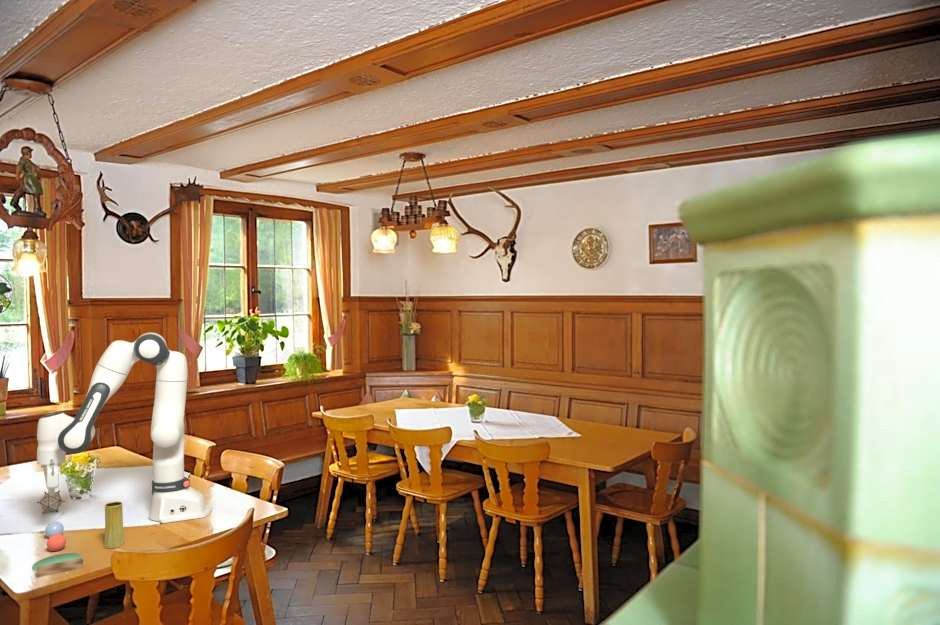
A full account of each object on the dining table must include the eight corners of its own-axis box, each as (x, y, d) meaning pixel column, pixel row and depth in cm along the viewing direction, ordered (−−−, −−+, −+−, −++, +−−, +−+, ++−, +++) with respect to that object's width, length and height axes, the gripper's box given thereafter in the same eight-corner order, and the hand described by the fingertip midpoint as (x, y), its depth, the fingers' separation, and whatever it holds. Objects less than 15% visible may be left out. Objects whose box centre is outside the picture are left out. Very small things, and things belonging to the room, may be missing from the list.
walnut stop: (82, 565, 203) (82, 557, 203) (83, 567, 202) (82, 559, 202) (36, 575, 196) (36, 566, 196) (37, 577, 195) (36, 569, 195)
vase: (109, 542, 223) (108, 501, 222) (127, 541, 223) (127, 500, 223) (100, 549, 217) (100, 507, 216) (119, 548, 217) (118, 506, 217)
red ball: (68, 546, 219) (68, 530, 219) (62, 552, 213) (62, 536, 213) (50, 548, 217) (50, 532, 217) (44, 554, 212) (43, 538, 212)
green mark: (90, 551, 214) (90, 551, 214) (75, 569, 201) (75, 568, 201) (42, 556, 211) (42, 555, 211) (24, 574, 197) (24, 573, 197)
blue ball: (66, 534, 230) (65, 518, 230) (60, 539, 225) (60, 524, 225) (48, 535, 229) (48, 520, 229) (42, 541, 224) (42, 525, 223)
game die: (52, 522, 253) (47, 507, 247) (35, 513, 254) (29, 498, 248) (71, 505, 260) (67, 490, 254) (54, 496, 261) (49, 481, 255)
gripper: (63, 462, 227) (63, 501, 228) (60, 450, 244) (60, 486, 244) (42, 464, 224) (42, 504, 224) (40, 452, 240) (40, 489, 241)
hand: (51, 494), depth 234 cm, fingers closed
